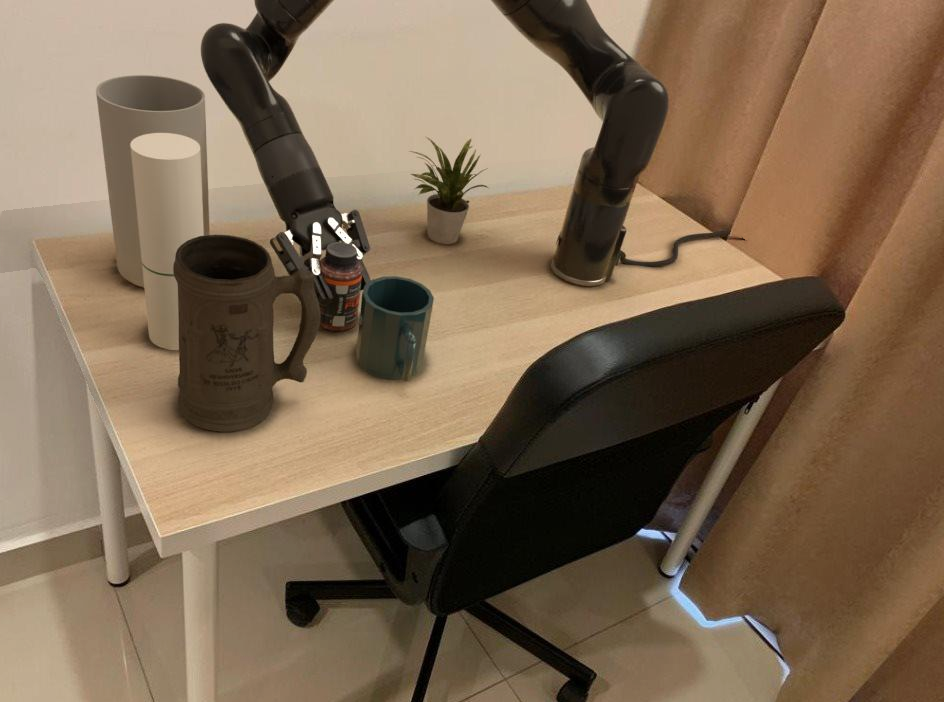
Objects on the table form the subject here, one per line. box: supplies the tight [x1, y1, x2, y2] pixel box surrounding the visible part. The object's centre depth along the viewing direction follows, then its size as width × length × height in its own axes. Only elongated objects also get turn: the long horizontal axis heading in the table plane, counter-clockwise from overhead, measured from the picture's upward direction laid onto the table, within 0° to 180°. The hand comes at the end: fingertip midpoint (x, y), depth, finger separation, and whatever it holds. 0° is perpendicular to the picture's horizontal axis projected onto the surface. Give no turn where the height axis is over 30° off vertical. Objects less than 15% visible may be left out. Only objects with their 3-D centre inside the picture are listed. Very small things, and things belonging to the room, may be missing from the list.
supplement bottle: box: [319, 241, 362, 332], centre depth 103 cm, size 6×6×11 cm
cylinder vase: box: [95, 74, 211, 288], centre depth 102 cm, size 12×12×25 cm
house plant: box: [409, 136, 489, 245], centre depth 127 cm, size 14×14×16 cm
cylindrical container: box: [130, 133, 204, 351], centre depth 91 cm, size 7×7×25 cm
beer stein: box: [173, 234, 321, 432], centre depth 85 cm, size 15×11×20 cm
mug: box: [355, 275, 435, 382], centre depth 97 cm, size 12×9×10 cm
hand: (347, 295), depth 102 cm, fingers closed on supplement bottle, 6 cm apart
